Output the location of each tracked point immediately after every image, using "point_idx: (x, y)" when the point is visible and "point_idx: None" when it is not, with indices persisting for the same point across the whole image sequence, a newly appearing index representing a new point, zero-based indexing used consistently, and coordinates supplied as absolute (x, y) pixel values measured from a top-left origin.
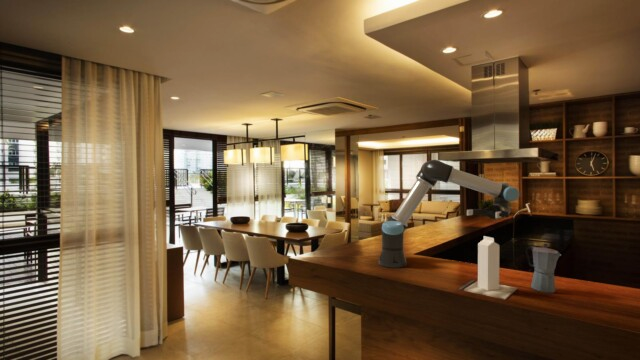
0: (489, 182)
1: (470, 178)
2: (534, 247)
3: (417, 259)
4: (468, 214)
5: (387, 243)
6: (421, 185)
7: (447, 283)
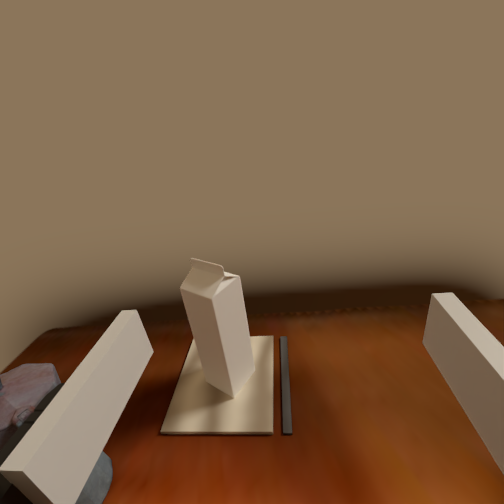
0: None
1: None
2: (29, 405)
3: None
4: (426, 338)
5: None
6: None
7: (327, 358)
